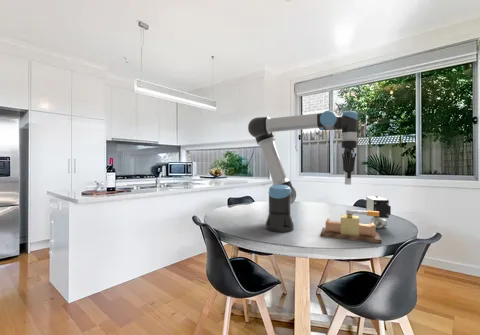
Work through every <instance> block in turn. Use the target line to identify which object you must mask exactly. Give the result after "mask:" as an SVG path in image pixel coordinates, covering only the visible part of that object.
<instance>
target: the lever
mask: <svg viewBox="0 0 480 335" xmlns="http://www.w3.org/2000/svg"><path fill="white" fill-rule="evenodd" d="M345 213H346V214H345V215H347V214H348V215H353V216H354V215H361V216H362V215H363V216H364V215H365V216H368V217H373V216H379V211H366V210H359V209H358V210H356V209H347V210H346V212H345Z"/></svg>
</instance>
